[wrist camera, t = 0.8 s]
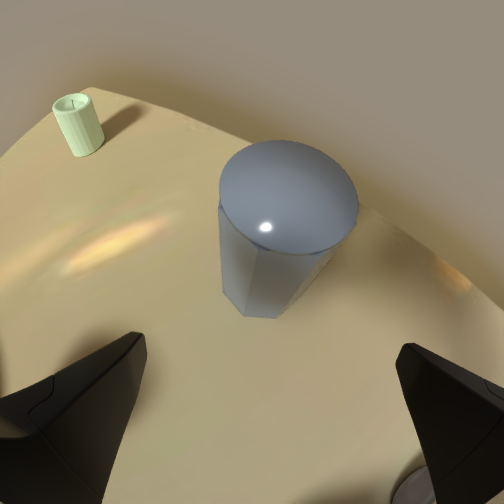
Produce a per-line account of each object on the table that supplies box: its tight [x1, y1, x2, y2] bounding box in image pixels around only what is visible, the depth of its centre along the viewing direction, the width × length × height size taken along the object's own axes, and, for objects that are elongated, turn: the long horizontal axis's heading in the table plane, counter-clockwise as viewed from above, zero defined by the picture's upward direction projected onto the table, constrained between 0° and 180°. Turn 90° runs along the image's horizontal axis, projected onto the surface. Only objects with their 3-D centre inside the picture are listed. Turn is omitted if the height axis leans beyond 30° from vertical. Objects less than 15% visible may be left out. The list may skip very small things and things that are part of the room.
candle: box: [52, 93, 105, 157], centre depth 26 cm, size 5×5×8 cm
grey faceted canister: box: [218, 140, 358, 319], centre depth 18 cm, size 7×7×12 cm
